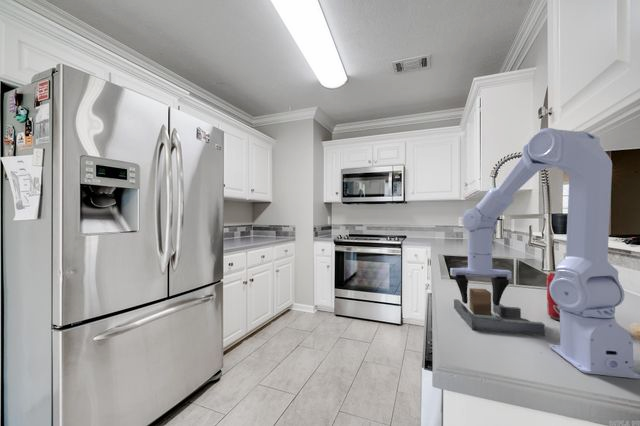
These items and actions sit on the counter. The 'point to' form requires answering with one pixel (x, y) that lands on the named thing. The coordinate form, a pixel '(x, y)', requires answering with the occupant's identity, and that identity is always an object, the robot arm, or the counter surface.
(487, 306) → the walnut block
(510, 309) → the grey flat frame
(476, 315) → the pad
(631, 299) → the counter surface
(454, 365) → the counter surface
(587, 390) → the counter surface
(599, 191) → the robot arm
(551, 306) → the beverage can
